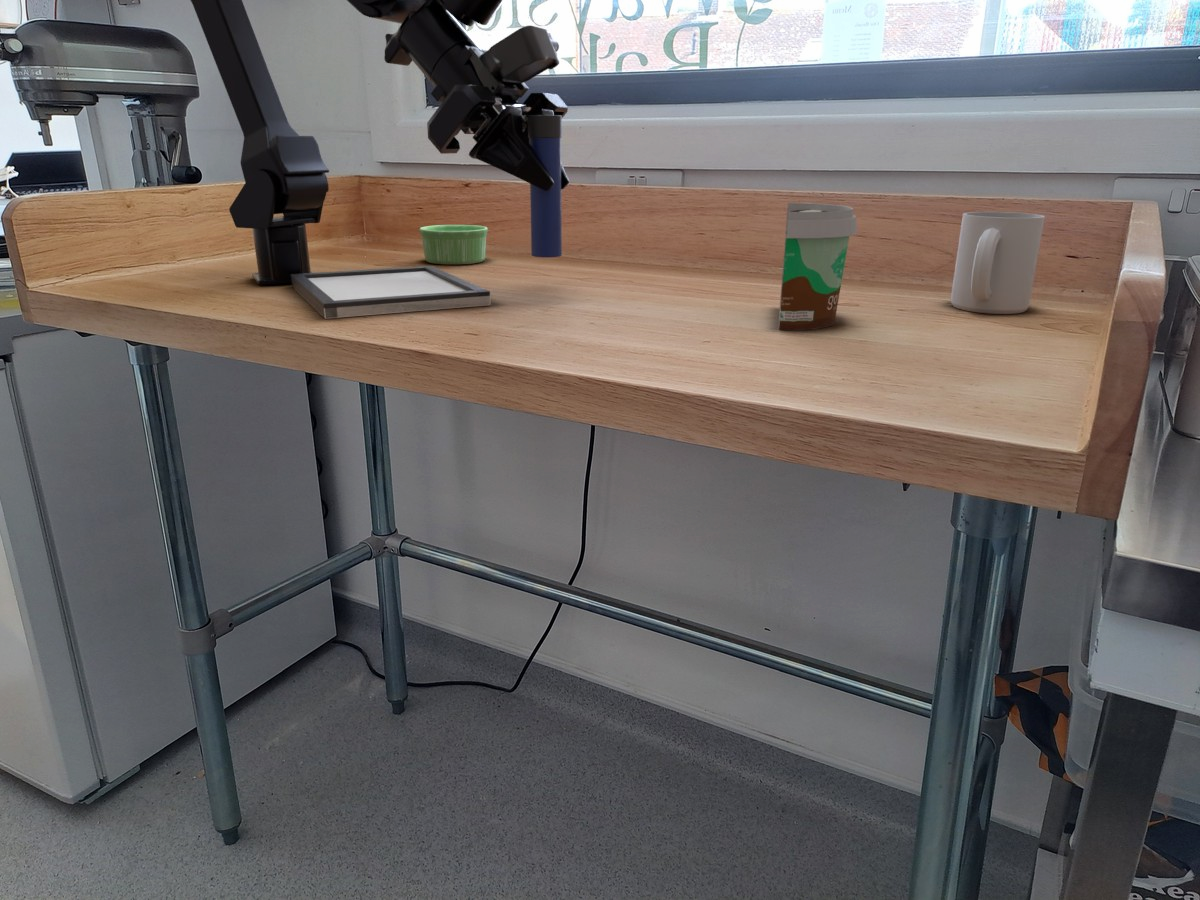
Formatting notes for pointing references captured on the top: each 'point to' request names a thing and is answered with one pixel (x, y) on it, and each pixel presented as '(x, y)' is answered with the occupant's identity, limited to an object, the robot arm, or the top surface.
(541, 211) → the marker
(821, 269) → the food container
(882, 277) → the top surface
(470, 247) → the ramekin
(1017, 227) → the cup
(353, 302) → the whiteboard
